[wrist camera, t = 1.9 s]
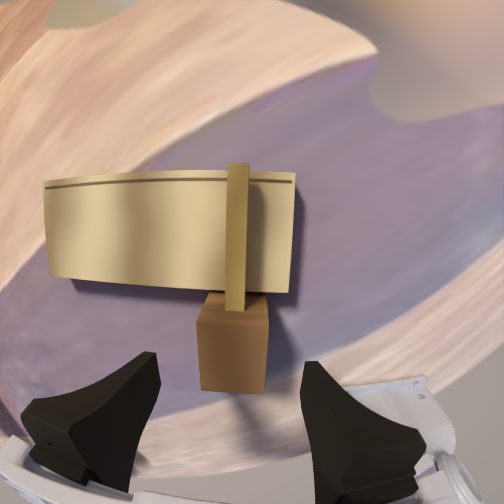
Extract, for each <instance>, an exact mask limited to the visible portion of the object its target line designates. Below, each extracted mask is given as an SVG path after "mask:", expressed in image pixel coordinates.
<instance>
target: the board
mask: <svg viewBox="0 0 504 504" xmlns="http://www.w3.org/2000/svg"><path fill="white" fill-rule="evenodd" d="M294 196H295V173H287V172H268V171H249V190H248V219H247V250H246V283H245V291H248V292H277V293H288V289H289V276H290V263H291V249H292V233H293V216H294ZM226 202H227V170H177V171H149V172H131V173H116V174H104V175H93V176H83V177H74V178H65V179H58V180H50V181H44V220H45V234H46V245H47V254H48V262H49V269H50V275H51V276H56V277H64V278H73V279H82V280H91V281H101V282H112V283H123V284H134V285H146V286H159V287H174V288H189V289H206V290H225V253H226Z"/></svg>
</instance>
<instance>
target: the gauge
mask: <svg viewBox="0 0 504 504" xmlns="http://www.w3.org/2000/svg"><path fill="white" fill-rule="evenodd" d="M248 190H249V163H228V169H227V202H226V253H225V290H210V291H209V294H208V296H207V298H206V301H205V303H204V305H203V307H202V310H201V312H200V314H199V317H198V319H197V321H196V325H197V342H198V357H199V370H200V382H201V390H203V391H214V392H227V393H245V394H264V386H265V374H266V361H267V348H268V334H269V318H268V307H267V295H266V292H248V291H245V283H246V250H247V219H248Z"/></svg>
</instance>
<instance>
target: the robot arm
mask: <svg viewBox="0 0 504 504" xmlns="http://www.w3.org/2000/svg"><path fill="white" fill-rule="evenodd" d="M427 381H428V378H427V377H426V376H419V377H414V378H408V379H403V380H396V381H390V382H383V383H375V384H366V385H357V386H346V387H341V386H340V385H339V384H338V383H337V382H336V381H335V380H334V379H333V378H332V377H331V376H330V374H329V373H328V372H327V371H326V370H325V369H324V368H323V367H322V365H321V364H320V363H319V362H318V361H305V365H304V371H303V377H302V383H301V388H300V400H301V409H302V413H303V418H304V422H305V426H306V430H307V434H308V438H309V442H310V446H311V452H312V461H313V472H314V485H315V504H485V503H484V502H483V500H482V498H481V495H480V492H479V490H478V488H477V486H476V484H475V482H474V480H473V478H472V477H471V475H470V474H469V472H468V471H467V469H466V468H465V466H464V465H463V464H462V462H461V461H460V460H459V459H458V458H457V457H456V456H455V455H453V453H454V450H455V445H456V438H455V431H454V427H453V425H452V423H451V421H450V420H449V418H448V417H447V415H446V414H445V412H444V411H443V410H442V408H441V407H440V405H439V404H438V402H437V401H436V400H435V398H434V397H433V395H432V394H431V393H430V391H429V390H428V389H427V387H426V386H425V385H426V383H427ZM160 387H161V380H160V375H159V369H158V363H157V357H156V353H153V352H146V351H144V352H143V353H141V354H140V355H138V356H137V357H135V358H134V359H133V360H131V361H130V362H128V363H127V364H126V365H124V366H123V367H121V368H120V369H118V370H117V371H115V372H113V373H112V374H110V375H109V376H107V377H105V378H104V379H102V380H100V381H98V382H96V383H94V384H92V385H89V386H87V387H85V388H82V389H79V390H76V391H74V392H71V393H67V394H63V395H59V396H54V397H48V398H39V399H33V400H32V401H31V403H30V404H29V405H28V406H27V407H26V409H25V410H24V411H23V412H22V413H21V421H22V423H23V425H24V427H25V429H26V430H27V432H28V433H29V435H30V436H31V438H32V439H33V441H34V442H35V446H34V447H33V448H32V447H31V446H30V445H29V444H28V443H26V442H25V441H23V440H21V439H20V438H18V437H16V436H15V435H12V436H11V437H10V438H9V440H8V441H7V442H6V444H5V445H4V446H3V448H2V449H1V450H0V476H1V477H2V478H3V479H4V480H5V482H7V484H8V485H9V486H10V487H12V488H13V489H14V490H15V491H16V492H17V493H18V494H19V495H21V496H22V497H24V498H25V499H27V500H28V501H30V502H31V503H33V504H229V503H223V502H214V501H205V500H197V499H190V498H184V497H177V496H172V495H167V494H162V493H157V492H151V491H140V492H135V493H134V495H132V494H129V493H128V490H129V483H130V477H131V472H132V467H133V463H134V459H135V455H136V451H137V447H138V444H139V440H140V437H141V435H142V432H143V430H144V428H145V425H146V423H147V421H148V419H149V416H150V414H151V412H152V410H153V407H154V405H155V403H156V401H157V397H158V394H159V390H160ZM346 391H348V392H346Z"/></svg>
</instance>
